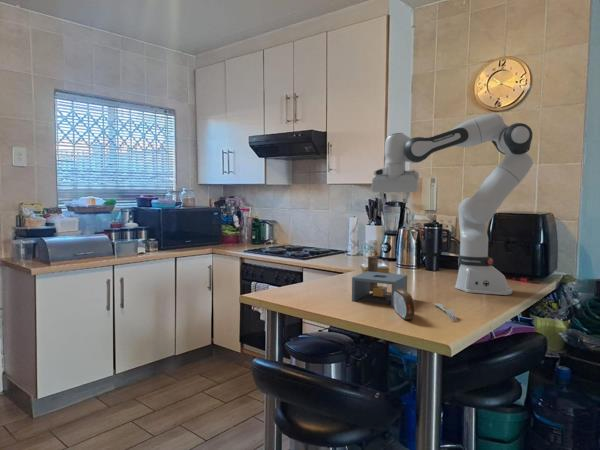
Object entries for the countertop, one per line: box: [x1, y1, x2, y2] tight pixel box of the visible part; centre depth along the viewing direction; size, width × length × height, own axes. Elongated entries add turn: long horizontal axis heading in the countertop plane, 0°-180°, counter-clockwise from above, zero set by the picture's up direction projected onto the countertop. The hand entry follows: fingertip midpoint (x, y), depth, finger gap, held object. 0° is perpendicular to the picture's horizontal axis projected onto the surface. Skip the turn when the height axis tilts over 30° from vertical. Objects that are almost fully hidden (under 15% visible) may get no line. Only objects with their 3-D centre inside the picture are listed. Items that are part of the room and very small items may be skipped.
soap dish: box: [360, 262, 390, 273], centre depth 224 cm, size 12×10×5 cm
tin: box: [393, 289, 415, 321], centre depth 146 cm, size 15×3×8 cm, turn 4°
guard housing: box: [351, 271, 408, 308], centre depth 168 cm, size 16×16×9 cm
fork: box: [433, 302, 458, 322], centre depth 151 cm, size 3×21×3 cm, turn 178°
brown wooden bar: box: [367, 256, 379, 292], centre depth 184 cm, size 3×3×14 cm
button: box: [372, 285, 388, 297], centre depth 169 cm, size 4×4×3 cm
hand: (394, 202), depth 197 cm, fingers open, 8 cm apart
